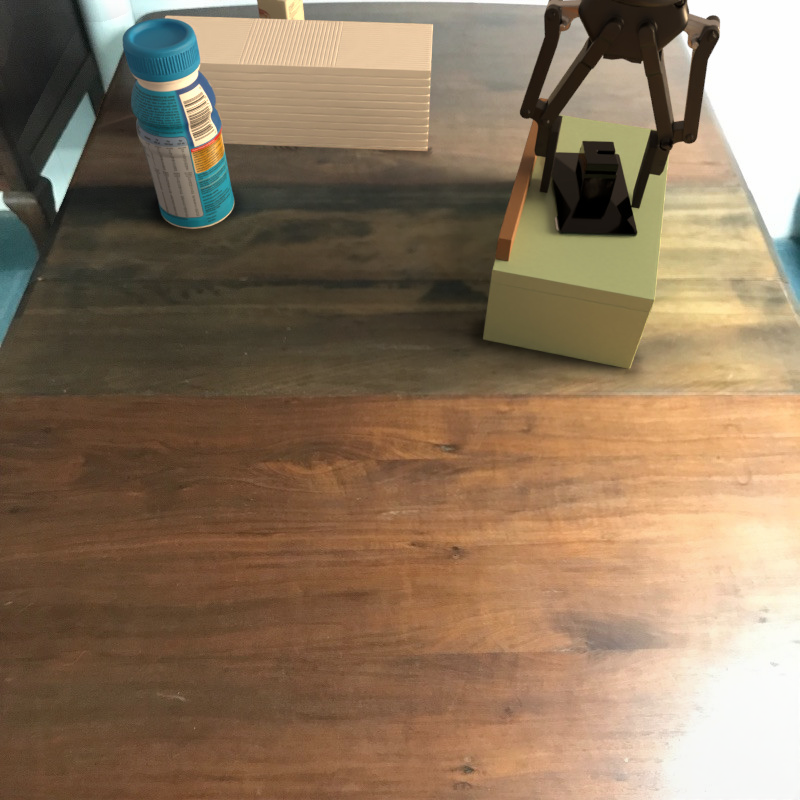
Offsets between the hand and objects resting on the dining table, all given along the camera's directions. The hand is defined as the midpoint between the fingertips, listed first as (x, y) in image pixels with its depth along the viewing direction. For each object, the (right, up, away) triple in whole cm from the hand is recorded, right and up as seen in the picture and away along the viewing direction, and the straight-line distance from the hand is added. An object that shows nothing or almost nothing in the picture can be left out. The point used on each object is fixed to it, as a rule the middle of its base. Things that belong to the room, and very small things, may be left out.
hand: (590, 191), depth 75 cm
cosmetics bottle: (-34, +26, +33) cm, 54 cm away
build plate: (0, 0, 0) cm, 0 cm away
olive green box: (0, -6, +8) cm, 10 cm away
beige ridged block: (-31, +14, +24) cm, 41 cm away
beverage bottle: (-41, +1, +13) cm, 43 cm away
